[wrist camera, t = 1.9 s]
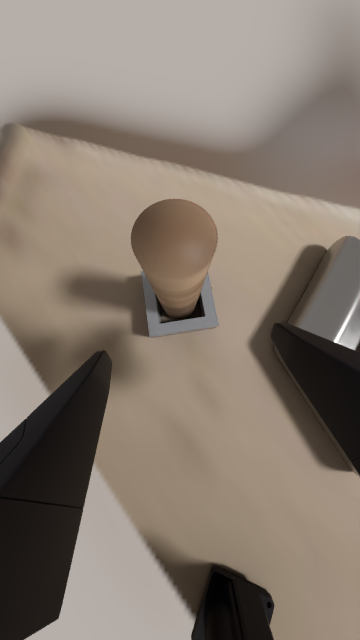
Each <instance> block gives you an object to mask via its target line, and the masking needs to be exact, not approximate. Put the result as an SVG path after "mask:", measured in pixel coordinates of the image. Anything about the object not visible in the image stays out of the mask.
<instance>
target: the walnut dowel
mask: <svg viewBox="0 0 360 640" xmlns="http://www.w3.org/2000/svg"><path fill="white" fill-rule="evenodd" d="M217 241H218V234H217V229H216V225H215V223H214V221H213V219H212V217H211V216H210V215H209V214H208V212H207V211H206V210H204V209H203V208H202V207H200V206H199V205H197V204H195V203H193V202H190V201H187V200H182V199H168V200H163V201H160V202H157V203H155V204H153V205H151V206H149V207H148V208H147V209H145V210H144V211H143V212H142V213H141V214H140V215H139V217H138V218H137V220H136V221H135V223H134V226H133V229H132V233H131V245H132V249H133V252H134V254H135V256H136V258H137V260H138V262H139V264H140V266H141V268H142V269H143V271H144V273H145V275H146V277H147V279H148V281H149V283H150V284H151V286H152V288H153V290H154V292H155V294H156V296H157V298H158V300H159V301H160V303H161V305H162V307H163V309H164V311H165V313H166V314H167V315H168V316H169V317H171V318H173V319H178V320H180V319H185V318H187V317H189V316H190V315H191V314H192V313H193V311H194V309H195V306H196V303H197V301H198V298H199V295H200V292H201V289H202V287H203V284H204V281H205V278H206V275H207V272H208V270H209V267H210V264H211V261H212V258H213V256H214V253H215V250H216V247H217Z"/></svg>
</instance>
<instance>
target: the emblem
mask: <svg viewBox="0 0 360 640" xmlns="http://www.w3.org/2000/svg"><path fill="white" fill-rule="evenodd" d="M287 323H289V324H291V325H294V326H296V327H298V328H301V329H303V330H306V331H308V332H311V333H313V334H316V335H318V336H321V337H323V338H326V339H328V340H331V341H333V342H336V343H338V344H341V345H343V346H345V347H348V348H350V349H353V350H355V351H358V352H360V240H359V239H358V238H356V237H353V236H345V237H342V238H341V239H339V240H338V241H336V242H335V243H334V244H333V245H332V246H331V247H330V248H329V249H328V250H327V252H326V254H325V255H324V257H323V259H322V261H321V263H320V264H319V266H318V268H317V270H316V272H315V274H314V276H313V278H312V279H311V281H310V283H309V285H308V287H307V289H306V290H305V292H304V294H303V296H302V297H301V299H300V301H299V303H298V305H297V306H296V308H295V310H294V312H293V313H292V315H291V317H290V318H289V320H288V322H287ZM274 351H275V353H276V355H277V356H278V358H279V359H280V361H281V363H282V364H283V366H284V367H285V369H286V370H287V372H288V374H289V375H290V377H291V378H292V380H293V381H294V383H295V385H296V386H297V388H298V389H299V391H300V392H301V394H302V395H303V397H304V399H305V400H306V402H307V403H308V405H309V406H310V408H311V410H312V411H313V413H314V414H315V416H316V417H317V419H318V420H319V422H320V423H321V425H322V427H323V428H324V430H325V431H326V433H327V434H328V436H329V437H330V439H331V440H332V442H333V443H334V445H335V446H336V448H337V449H338V451H339V452H340V454H341V456H342V457H343V459H344V460H345V462H346V463H347V465H348V466H349V467H350V469H351V470H352V471H353V472H354V473H355V474H356V475H358V476H359V477H360V475H359V474H358V472H357V471H356V469H355V468H354V466H353V465H352V463H351V461H350V460H349V459H348V457H347V456H346V454H345V453H344V451H343V450H342V448H341V447H340V445H339V444H338V442H337V441H336V439H335V438H334V436H333V435H332V433H331V432H330V430H329V429H328V427H327V426H326V424H325V423H324V421H323V420H322V418H321V417H320V415H319V414H318V412H317V411H316V409H315V408H314V407H313V405H312V404H311V402H310V401H309V399H308V398H307V396H306V395H305V393H304V392H303V390H302V389H301V387H300V386H299V384H298V383H297V381H296V380H295V378H294V377H293V375H292V374H291V372H290V371H289V369H288V368H287V366H286V365H285V363H284V361H283V359H282V358H281V356H280V354H279V352H278V350H277V348H276V346H275V345H274Z"/></svg>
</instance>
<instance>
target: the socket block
mask: <svg viewBox="0 0 360 640" xmlns="http://www.w3.org/2000/svg"><path fill="white" fill-rule="evenodd" d="M141 275H142V283H143V290H144V298H145V306H146V314H147V322H148V329H149V337H152V338H155V337H161V336H167V335H174V334H180V333H186V332H192V331H198V330H205V329H211V328H215V327H217V326H219V324H218V319H217V314H216V309H215V304H214V300H213V295H212V290H211V285H210V280H209V275H208V272H207V275H206V278H205V281H204V284H203V287H202V289H201V292H200V295H199V303H200V309H201V314H202V317H199V318H193V319H186V320H180V321H174V322H168V323H161V316H160V309H159V302H158V298H157V296H156V294H155V292H154V290H153V288H152V286H151V284H150V283H149V281H148V279H147V277H146V275H145V273H144V271H142V272H141Z"/></svg>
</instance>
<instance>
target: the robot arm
mask: <svg viewBox="0 0 360 640" xmlns="http://www.w3.org/2000/svg"><path fill="white" fill-rule="evenodd" d="M271 339H272V341H273V342H274V344H275V346H276V348H277V350H278V352H279V354H280V356H281V358H282V359H283V361H284V363H285V365H286V366H287V368H288V369H289V371H290V372H291V374H292V375H293V377H294V378H295V380H296V381H297V383H298V384H299V386H300V387H301V389H302V390H303V392H304V393H305V395H306V396H307V398H308V399H309V401H310V402H311V404H312V405H313V407H314V408H315V409H316V411H317V412H318V414H319V415H320V417H321V418H322V420H323V421H324V423H325V424H326V426H327V427H328V429H329V430H330V432H331V433H332V435H333V436H334V438H335V439H336V441H337V442H338V444H339V445H340V447H341V448H342V450H343V451H344V453H345V454H346V456H347V457H348V459H349V460H350V461H351V463H352V465H353V466H354V468H355V469H356V471H357V472H358V474H359V475H360V352H358V351H355V350H353V349H350V348H348V347H345V346H343V345H341V344H338V343H336V342H333V341H331V340H328V339H326V338H323V337H321V336H318V335H316V334H313V333H311V332H308V331H306V330H303V329H301V328H298V327H296V326H294V325H291V324H289V323H286V322H283V321H282V322H276V323H274V325H273V328H272V331H271ZM111 370H112V361H111V359H110V357H109V355H108V354H107V352H106V351H105V350H103V351H97V352H96V353H94V354H93V355H92V356H91V357H90V358H89V359H88V360H87V361H86V362H85V363H84V364H83V365H82V366H81V367H80V368H79V369H78V370H77V371H75V372H74V373H73V374H72V375H71V376H70V377H69V378H68V379H67V380H66V381H65V382H64V383H63V384H62V385H61V386H60V387H59V388H58V389H56V390H55V391H54V392H53V393H52V394H51V395H50V396H49V397H48V398H47V399H46V400H45V401H44V402H43V403H42V404H41V405H40V406H39V407H37V409H35V410H34V411H33V412H32V413H31V414H30V415H29V416H28V417H27V419H25V420H24V421H23V422H22V423H21V424H20V425H18V426H17V427H16V428H15V429H14V430H13V431H12V432H11V433H10V434H9V435H8V436H7V437H6V438H4V439H3V440H2V441H1V442H0V640H24V639H26V638H27V637H29V636H31V635H32V634H34V633H36V632H37V631H39V630H41V629H42V628H44V627H45V626H47V625H49V624H50V623H52V622H54V621H55V620H57V619H58V618H59V614H60V610H61V606H62V603H63V598H64V593H65V589H66V585H67V580H68V576H69V571H70V567H71V562H72V558H73V553H74V549H75V544H76V540H77V535H78V531H79V526H80V522H81V516H82V512H83V507H84V503H85V498H86V493H87V489H88V485H89V480H90V476H91V471H92V467H93V462H94V458H95V453H96V449H97V444H98V440H99V435H100V431H101V426H102V422H103V417H104V413H105V408H106V404H107V399H108V394H109V388H110V379H111ZM273 610H274V602H273V600H272V597H271V595H270V594H269V593H268V592H266V591H264V590H262V589H260V588H258V587H256V586H254V585H252V584H250V583H248V582H246V581H244V580H242V579H240V578H238V577H236V576H234V575H232V574H230V573H228V572H226V571H224V570H222V569H221V568H219V567H216V566H215V567H213V568H212V569H211V571H210V575H209V578H208V581H207V585H206V588H205V591H204V595H203V598H202V601H201V605H200V608H199V611H198V615H197V618H196V621H195V624H194V628H193V631H192V635H191V639H192V640H274V638H273V635H272V632H271V629H270V622H271V618H272V614H273Z"/></svg>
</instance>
